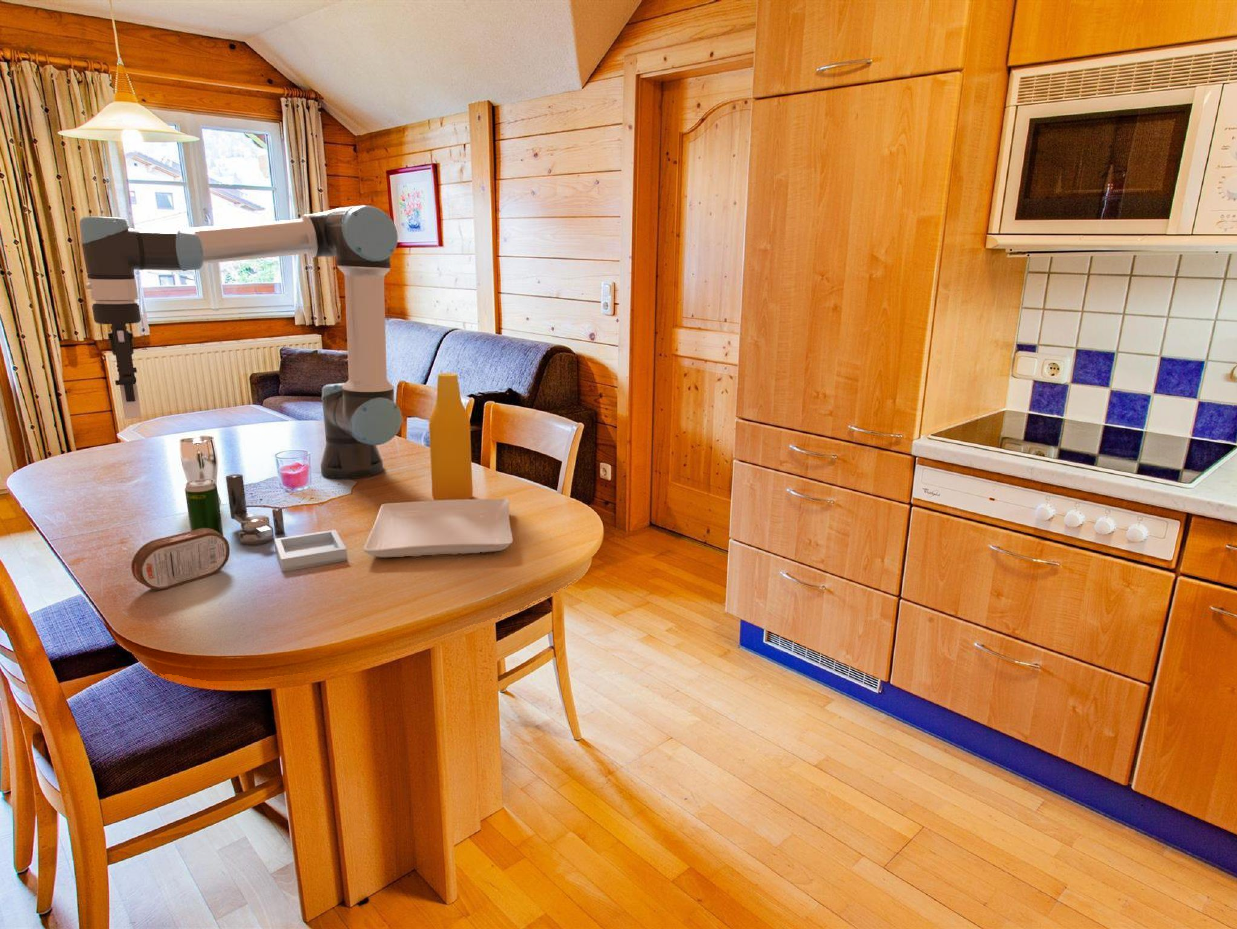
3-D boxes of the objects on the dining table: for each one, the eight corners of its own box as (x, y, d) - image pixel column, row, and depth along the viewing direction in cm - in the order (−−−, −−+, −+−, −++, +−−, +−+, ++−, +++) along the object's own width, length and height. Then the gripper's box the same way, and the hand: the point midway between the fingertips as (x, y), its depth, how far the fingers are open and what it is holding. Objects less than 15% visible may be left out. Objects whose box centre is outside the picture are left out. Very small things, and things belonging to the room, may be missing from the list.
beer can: (223, 544, 145) (215, 484, 141) (191, 548, 142) (183, 488, 139) (224, 534, 149) (216, 477, 146) (193, 538, 147) (185, 480, 144)
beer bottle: (431, 505, 169) (425, 378, 161) (432, 493, 177) (426, 371, 170) (473, 504, 171) (469, 377, 163) (472, 491, 179) (468, 371, 171)
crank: (280, 533, 144) (275, 490, 142) (253, 539, 141) (248, 496, 139) (249, 512, 155) (244, 472, 153) (223, 517, 152) (218, 477, 149)
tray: (336, 541, 147) (335, 529, 147) (347, 560, 138) (346, 548, 137) (275, 550, 142) (274, 538, 141) (282, 571, 133) (281, 559, 132)
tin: (226, 565, 135) (220, 521, 133) (235, 569, 133) (229, 525, 131) (134, 593, 124) (126, 545, 122) (142, 598, 122) (134, 550, 120)
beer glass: (208, 510, 163) (199, 443, 158) (180, 508, 164) (170, 441, 160) (230, 501, 169) (222, 436, 165) (203, 498, 170) (194, 434, 166)
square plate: (508, 512, 167) (508, 496, 166) (513, 560, 141) (513, 541, 140) (382, 517, 162) (381, 500, 161) (363, 567, 136) (361, 548, 135)
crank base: (283, 530, 152) (281, 507, 151) (287, 540, 147) (285, 516, 146) (177, 546, 143) (173, 521, 142) (177, 557, 138) (173, 532, 137)
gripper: (91, 298, 150) (108, 402, 156) (90, 306, 130) (110, 425, 136) (135, 298, 154) (150, 399, 160) (141, 306, 134) (158, 421, 140)
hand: (132, 411), depth 148 cm, fingers open, 13 cm apart
